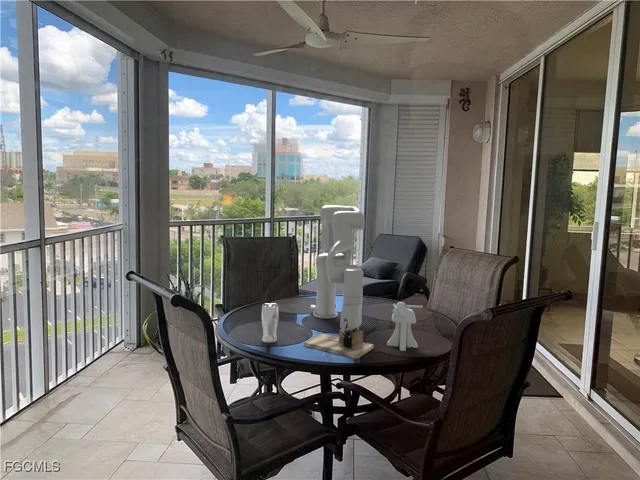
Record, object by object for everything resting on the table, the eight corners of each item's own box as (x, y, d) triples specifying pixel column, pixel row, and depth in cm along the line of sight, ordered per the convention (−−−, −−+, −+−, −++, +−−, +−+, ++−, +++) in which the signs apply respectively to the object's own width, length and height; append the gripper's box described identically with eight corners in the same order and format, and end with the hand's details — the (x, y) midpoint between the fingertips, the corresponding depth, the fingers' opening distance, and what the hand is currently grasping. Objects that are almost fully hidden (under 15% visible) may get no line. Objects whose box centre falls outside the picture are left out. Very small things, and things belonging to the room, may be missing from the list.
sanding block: (338, 345, 173) (339, 330, 173) (344, 341, 177) (345, 327, 177) (356, 349, 169) (357, 334, 168) (362, 345, 173) (363, 330, 173)
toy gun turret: (421, 352, 173) (423, 307, 171) (387, 349, 175) (389, 305, 173) (419, 342, 185) (421, 300, 183) (387, 340, 187) (389, 298, 185)
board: (304, 345, 176) (304, 341, 176) (322, 336, 188) (322, 333, 188) (357, 358, 164) (357, 354, 164) (373, 348, 176) (373, 344, 176)
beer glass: (271, 344, 177) (271, 307, 175) (257, 341, 180) (258, 305, 179) (281, 340, 183) (282, 304, 181) (268, 336, 186) (268, 302, 185)
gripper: (353, 294, 181) (352, 337, 182) (333, 302, 166) (331, 349, 168) (370, 297, 177) (368, 341, 179) (351, 305, 162) (349, 353, 164)
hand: (350, 344), depth 173 cm, fingers closed on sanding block, 5 cm apart
